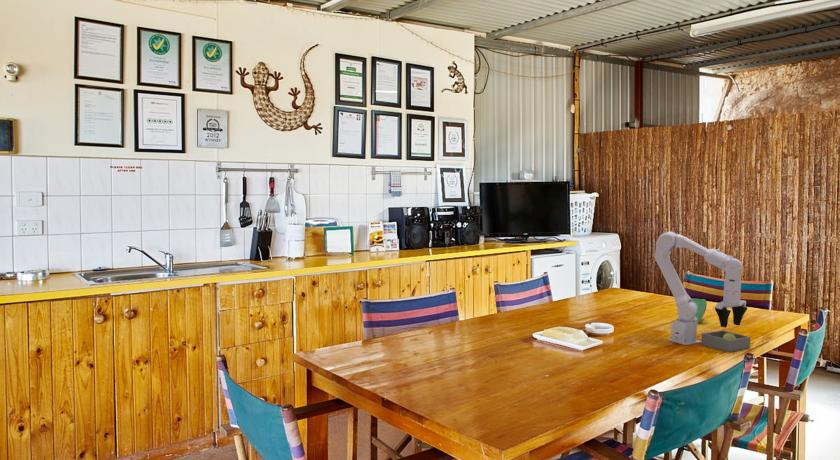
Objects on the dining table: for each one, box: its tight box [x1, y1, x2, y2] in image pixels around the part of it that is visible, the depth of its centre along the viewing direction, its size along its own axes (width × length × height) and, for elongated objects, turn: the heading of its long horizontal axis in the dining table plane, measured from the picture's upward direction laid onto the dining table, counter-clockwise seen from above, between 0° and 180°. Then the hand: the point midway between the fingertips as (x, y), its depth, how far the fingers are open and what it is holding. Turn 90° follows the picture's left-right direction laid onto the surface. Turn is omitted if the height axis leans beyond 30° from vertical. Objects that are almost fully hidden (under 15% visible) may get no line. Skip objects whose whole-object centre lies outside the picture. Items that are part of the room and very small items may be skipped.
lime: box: [723, 333, 736, 340], centre depth 241 cm, size 5×5×5 cm
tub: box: [700, 329, 751, 354], centre depth 241 cm, size 12×12×4 cm
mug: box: [690, 297, 708, 325], centre depth 283 cm, size 15×10×10 cm
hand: (730, 325), depth 240 cm, fingers open, 7 cm apart
